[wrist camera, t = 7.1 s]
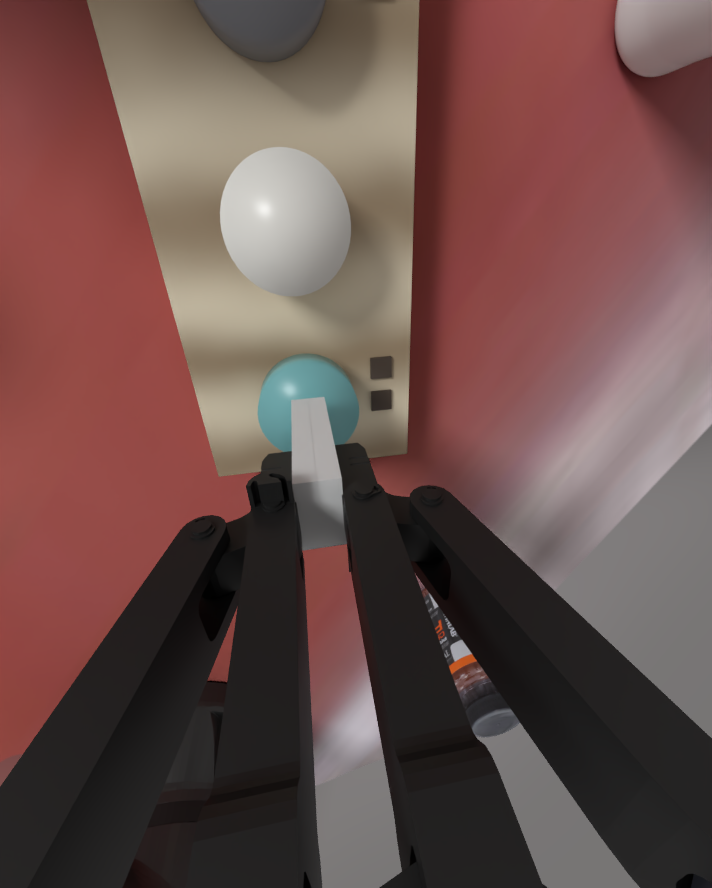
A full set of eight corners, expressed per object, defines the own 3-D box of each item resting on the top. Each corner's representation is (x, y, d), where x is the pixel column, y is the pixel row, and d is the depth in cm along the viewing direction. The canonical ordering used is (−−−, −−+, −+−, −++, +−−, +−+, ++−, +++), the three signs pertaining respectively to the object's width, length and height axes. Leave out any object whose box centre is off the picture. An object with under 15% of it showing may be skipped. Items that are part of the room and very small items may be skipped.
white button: (347, 286, 18) (354, 292, 16) (240, 293, 17) (235, 300, 15) (340, 155, 15) (347, 145, 13) (215, 159, 15) (205, 148, 13)
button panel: (395, 432, 27) (407, 455, 24) (225, 452, 26) (218, 478, 23) (400, -175, 14) (428, -276, 11) (59, -201, 13) (-5, -322, 10)
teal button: (355, 434, 22) (361, 451, 20) (268, 444, 21) (266, 462, 19) (351, 349, 19) (357, 360, 17) (252, 357, 19) (248, 370, 17)
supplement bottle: (414, 580, 35) (462, 712, 25) (474, 569, 36) (543, 694, 26) (414, 619, 38) (457, 752, 28) (469, 609, 39) (530, 734, 29)
